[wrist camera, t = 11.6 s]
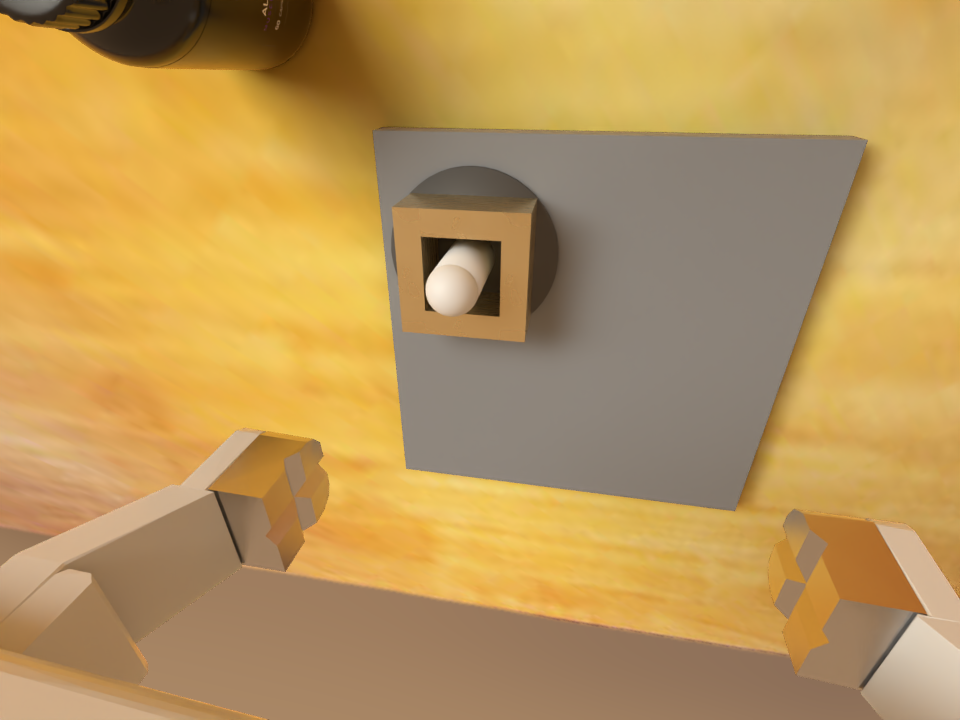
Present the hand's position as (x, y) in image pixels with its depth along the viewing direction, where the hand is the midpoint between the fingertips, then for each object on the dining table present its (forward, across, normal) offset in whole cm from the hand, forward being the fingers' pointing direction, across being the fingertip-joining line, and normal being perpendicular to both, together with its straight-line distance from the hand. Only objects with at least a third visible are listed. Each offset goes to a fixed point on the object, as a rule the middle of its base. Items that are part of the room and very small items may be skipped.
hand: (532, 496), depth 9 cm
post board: (+20, 0, +7) cm, 22 cm away
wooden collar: (+18, +5, +2) cm, 19 cm away
